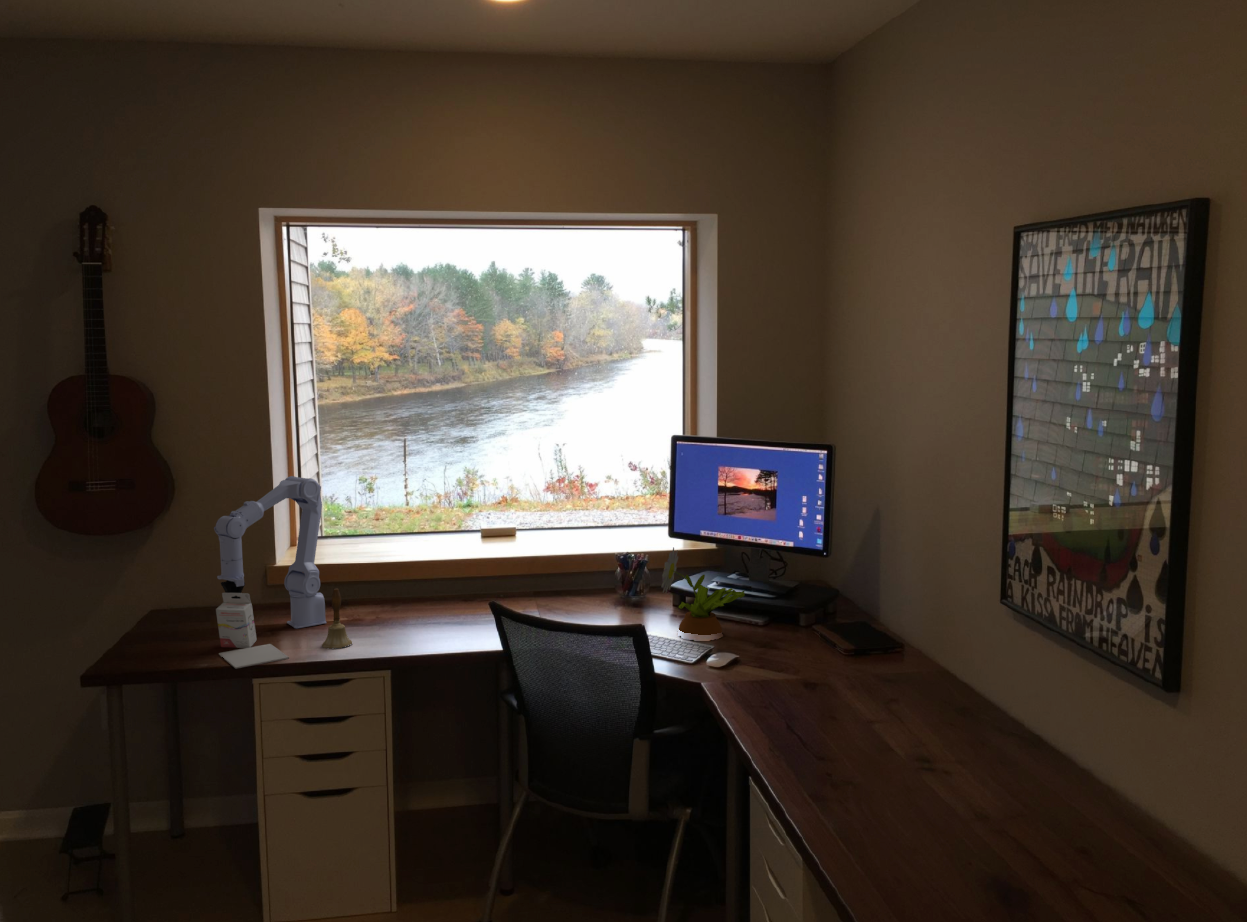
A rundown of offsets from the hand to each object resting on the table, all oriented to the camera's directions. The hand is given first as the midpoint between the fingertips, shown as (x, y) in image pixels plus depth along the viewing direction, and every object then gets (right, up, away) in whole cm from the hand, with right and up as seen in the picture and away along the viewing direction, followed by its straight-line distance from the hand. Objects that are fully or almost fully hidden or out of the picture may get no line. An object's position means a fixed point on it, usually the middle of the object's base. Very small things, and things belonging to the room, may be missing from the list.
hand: (234, 606), depth 294 cm
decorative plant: (+131, -9, +5) cm, 132 cm away
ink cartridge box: (+2, -10, -1) cm, 11 cm away
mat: (+9, -12, -11) cm, 19 cm away
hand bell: (+29, -11, -1) cm, 31 cm away
